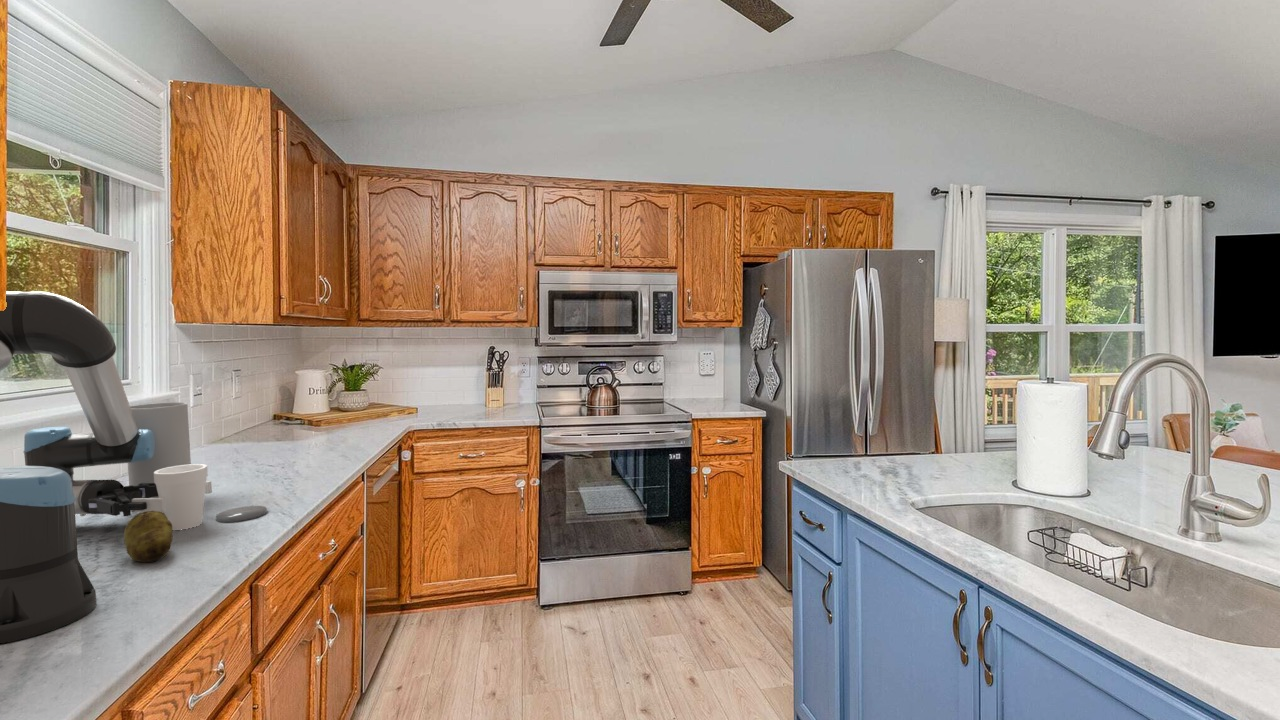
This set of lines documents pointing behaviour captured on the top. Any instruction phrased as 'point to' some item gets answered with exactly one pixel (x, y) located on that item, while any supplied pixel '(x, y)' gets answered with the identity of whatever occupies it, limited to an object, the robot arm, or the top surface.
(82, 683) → the top surface
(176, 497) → the foam cup
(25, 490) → the robot arm
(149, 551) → the potato
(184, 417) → the cylinder vase
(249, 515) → the coaster
